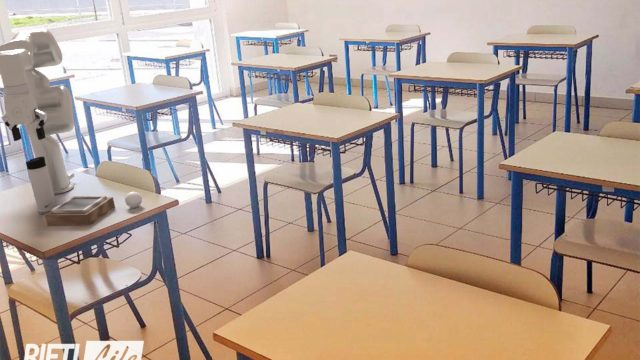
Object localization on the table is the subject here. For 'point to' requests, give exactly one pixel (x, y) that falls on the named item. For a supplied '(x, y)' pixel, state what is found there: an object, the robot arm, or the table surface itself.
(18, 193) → the table surface
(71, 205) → the display stand
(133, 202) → the white egg
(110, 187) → the table surface
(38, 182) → the travel mug
